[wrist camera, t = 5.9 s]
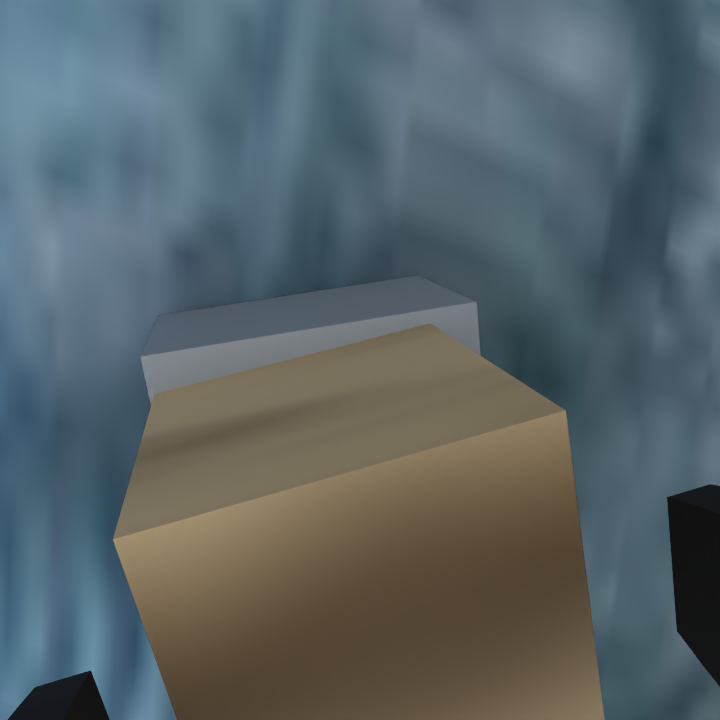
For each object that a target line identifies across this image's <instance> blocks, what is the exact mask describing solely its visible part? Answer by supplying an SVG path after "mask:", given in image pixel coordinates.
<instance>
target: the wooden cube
mask: <svg viewBox="0 0 720 720" xmlns="http://www.w3.org/2000/svg"><path fill="white" fill-rule="evenodd" d="M113 541H114V544H115V547H116V550H117V552H118V555H119V558H120V561H121V564H122V566H123V569H124V572H125V575H126V578H127V580H128V583H129V586H130V589H131V592H132V594H133V597H134V600H135V603H136V606H137V608H138V611H139V614H140V617H141V620H142V622H143V625H144V628H145V631H146V634H147V636H148V639H149V642H150V645H151V648H152V650H153V653H154V656H155V659H156V662H157V664H158V667H159V670H160V673H161V676H162V678H163V681H164V684H165V687H166V690H167V692H168V695H169V698H170V701H171V704H172V706H173V709H174V712H175V715H176V718H177V720H604V712H603V704H602V696H601V688H600V680H599V672H598V664H597V656H596V648H595V640H594V632H593V624H592V616H591V608H590V600H589V592H588V584H587V576H586V569H585V561H584V553H583V545H582V537H581V529H580V521H579V513H578V505H577V497H576V489H575V481H574V473H573V465H572V457H571V449H570V441H569V433H568V425H567V417H566V410H564V409H563V408H561V407H560V406H558V405H556V404H555V403H553V402H552V401H550V400H549V399H547V398H546V397H544V396H542V395H541V394H539V393H538V392H536V391H535V390H533V389H532V388H530V387H528V386H527V385H525V384H524V383H522V382H521V381H519V380H518V379H516V378H514V377H513V376H511V375H510V374H508V373H507V372H505V371H504V370H502V369H500V368H499V367H497V366H496V365H494V364H493V363H491V362H490V361H488V360H486V359H485V358H483V357H482V356H480V355H479V354H477V353H476V352H474V351H472V350H471V349H469V348H468V347H466V346H465V345H463V344H462V343H460V342H458V341H457V340H455V339H454V338H452V337H451V336H449V335H448V334H446V333H444V332H443V331H441V330H440V329H438V328H437V327H435V326H433V325H432V324H430V323H429V324H425V325H421V326H417V327H414V328H410V329H406V330H402V331H398V332H394V333H390V334H386V335H382V336H378V337H375V338H371V339H367V340H363V341H359V342H355V343H351V344H347V345H343V346H340V347H336V348H332V349H328V350H324V351H320V352H316V353H312V354H308V355H305V356H301V357H297V358H293V359H289V360H285V361H281V362H277V363H273V364H269V365H266V366H262V367H258V368H254V369H250V370H246V371H242V372H238V373H234V374H231V375H227V376H223V377H219V378H215V379H211V380H207V381H203V382H199V383H195V384H192V385H188V386H184V387H180V388H176V389H172V390H168V391H164V392H160V393H157V394H154V398H153V401H152V405H151V408H150V412H149V415H148V419H147V422H146V426H145V429H144V433H143V436H142V440H141V443H140V447H139V450H138V454H137V457H136V461H135V464H134V468H133V471H132V475H131V478H130V482H129V485H128V489H127V492H126V495H125V499H124V502H123V506H122V509H121V513H120V516H119V520H118V523H117V527H116V530H115V534H114V537H113Z"/></svg>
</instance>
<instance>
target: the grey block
mask: <svg viewBox="0 0 720 720" xmlns="http://www.w3.org/2000/svg"><path fill="white" fill-rule="evenodd" d="M429 323H430V324H432V325H433V326H435V327H437V328H438V329H440V330H441V331H443V332H444V333H446V334H448V335H449V336H451V337H452V338H454V339H455V340H457V341H458V342H460V343H462V344H463V345H465V346H466V347H468V348H469V349H471V350H472V351H474V352H476V353H477V354H479V355H480V356H481V353H480V340H479V326H478V312H477V302H476V301H474V300H472V299H470V298H467V297H465V296H463V295H461V294H458V293H456V292H454V291H452V290H449V289H447V288H445V287H443V286H440V285H438V284H436V283H434V282H431V281H429V280H427V279H425V278H422V277H420V276H418V275H417V276H411V277H404V278H398V279H391V280H385V281H378V282H372V283H365V284H359V285H352V286H346V287H339V288H333V289H326V290H320V291H313V292H307V293H300V294H294V295H287V296H281V297H275V298H268V299H262V300H255V301H249V302H242V303H236V304H229V305H223V306H216V307H210V308H203V309H197V310H190V311H184V312H177V313H171V314H164V315H158V317H157V319H156V322H155V324H154V326H153V329H152V331H151V333H150V336H149V338H148V340H147V342H146V345H145V347H144V349H143V352H142V354H141V356H140V358H141V362H142V367H143V371H144V376H145V381H146V385H147V390H148V394H149V399H150V404H151V405H152V401H153V398H154V394H157V393H160V392H164V391H168V390H172V389H176V388H180V387H184V386H188V385H192V384H195V383H199V382H203V381H207V380H211V379H215V378H219V377H223V376H227V375H231V374H234V373H238V372H242V371H246V370H250V369H254V368H258V367H262V366H266V365H269V364H273V363H277V362H281V361H285V360H289V359H293V358H297V357H301V356H305V355H308V354H312V353H316V352H320V351H324V350H328V349H332V348H336V347H340V346H343V345H347V344H351V343H355V342H359V341H363V340H367V339H371V338H375V337H378V336H382V335H386V334H390V333H394V332H398V331H402V330H406V329H410V328H414V327H417V326H421V325H425V324H429Z"/></svg>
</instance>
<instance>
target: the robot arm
mask: <svg viewBox="0 0 720 720" xmlns="http://www.w3.org/2000/svg"><path fill="white" fill-rule="evenodd" d="M667 501H668V515H669V528H670V542H671V556H672V569H673V583H674V596H675V610H676V624H677V632H678V633H679V634H680V636H681V637H682V638H683V640H684V641H685V642H686V643H687V645H688V646H689V647H690V649H691V650H692V651H693V653H694V654H695V655H696V657H697V658H698V659H699V661H700V662H701V663H702V665H703V666H704V667H705V669H706V670H707V671H708V672H709V674H710V675H711V676H712V677H713V679H714V680H715V681H716V682H717V684H718V685H719V686H720V486H716V485H706V486H703V487H700V488H696V489H693V490H690V491H687V492H683V493H680V494H677V495H673V496H670V497H667ZM8 720H109V717H108V715H107V712H106V709H105V707H104V704H103V701H102V699H101V696H100V693H99V691H98V688H97V686H96V683H95V680H94V678H93V675H92V672H91V671H88V672H84V673H81V674H78V675H74V676H71V677H68V678H64V679H61V680H58V681H54V682H51V683H48V684H44V685H41V686H38V687H35V688H34V689H33V690H32V692H31V693H30V694H29V695H28V696H27V697H26V698H25V700H24V701H23V702H22V703H21V704H20V705H19V707H18V708H17V709H16V710H15V711H14V713H13V714H12V715H11V716H10V718H9V719H8Z"/></svg>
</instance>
